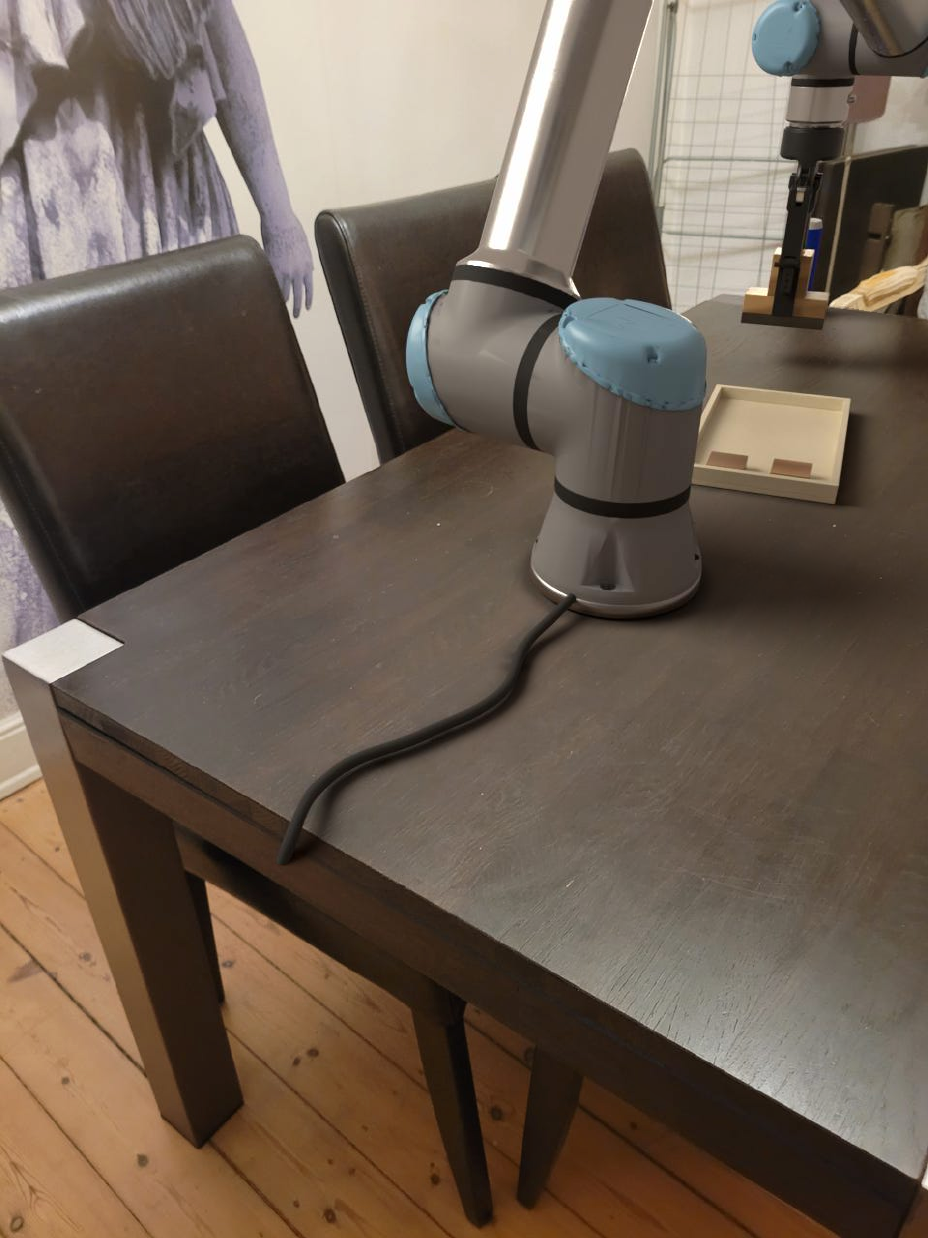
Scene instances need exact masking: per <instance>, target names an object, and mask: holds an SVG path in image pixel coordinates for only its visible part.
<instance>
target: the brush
mask: <svg viewBox="0 0 928 1238" xmlns="http://www.w3.org/2000/svg"><path fill="white" fill-rule="evenodd" d="M781 251H782V247H777V248H776V250H775V251H774V253H773V256H772V261H771V268H770V275H769V281H768V287H757V286H756V287H755V286H748V288H747V290H746V291H745V293H744V298H743V304H742V312H741V317H740V323H741V324H747V325H757V326H769V327H782V328H795V329H803V330H804V329H805V330H816V331H817V330H818V331H822V330H823V328H824V324H825V320H826V314H827V311H828V310H827V309H828V304H829V301H830V295H831V293H830V292H826V291H824V292H823V291H812V290H811V291H807V290H808V285H809V279H810V274H811V268H812V263H813V257H814V252H815V250H810V249H802V254H801V259H800V260H801V265H800V266H799V267H800V273H799V279H798V284H797V290H796V296H795V301H794V307H793V313H792V317H780V316H771V314H772V308H773V302H774V296H775V289H776V283H777V277H778V271H779V267H774V263H775V262H779V258H780V257H781Z"/></svg>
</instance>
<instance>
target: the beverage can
mask: <svg viewBox="0 0 928 1238" xmlns="http://www.w3.org/2000/svg"><path fill="white" fill-rule="evenodd" d="M823 228H824V227H823V220H822V219H820V218H817V217H811V220H810V225H809V231H808V237H807V242H806V243H807V247H806V249H810V250H815V252H814V257H813V263H812V268H811V274H810V279H809V285H808V290H807V291H812V288H813V283H814V277H815V272H816V265H817V261H818V256H819V250H820V245H821V239H822V234H823Z"/></svg>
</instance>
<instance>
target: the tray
mask: <svg viewBox="0 0 928 1238" xmlns="http://www.w3.org/2000/svg"><path fill="white" fill-rule="evenodd" d="M709 397H710V398H709V399H708V401H707V403H706V404H705V405H706V406H705V407H704V409H703V410H702V413H701V420H700V427H699V434H698V441H697V448H696V455H695V462H694V469H693V476H692V483H691V485H696V486H703V487H711V488H717V489H726V490H732V491H739V492H746V493H751V494H752V493H753V494H759V495H766V496H773V497H781V498H787V499H795V500H802V501H808V502H815V503H822V504H829V505H835V504H836V500H837V495H838V490H839V488H840V487H839V486H840V480H841V472H842V466H843V458H844V451H845V443H846V437H847V432H848V431H847V429H848V425H849V424H848V422H849V416H850V408H851V401H852V399H851V398H850V397H849V398H848V397H847V398H846V397H839V396H830V395H829V396H828V395H822V394H812V393H804V392H803V393H801V392H793V391H784V390H775V389H774V390H773V389H764V388H757V387H756V388H755V387H747V386H737V385H727V384H719V383H718V384H716V385H715V387H714V389H713V391H712V393H711V396H709ZM712 451H716V452H723V453H731V454H739V455H746V456H748V462H747V468H746V470H739V469H731V468H724V467H717V466H709V465H706V463H707V461H708V458H709V456H710V454H711V452H712ZM774 459H783V460H791V461H798V462H806V463H812V464H813V465H812V469H811V474H810V479H805V478H797V477H790V476H783V475H775V474H770V471H771V468H772V465H773V461H774Z"/></svg>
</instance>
